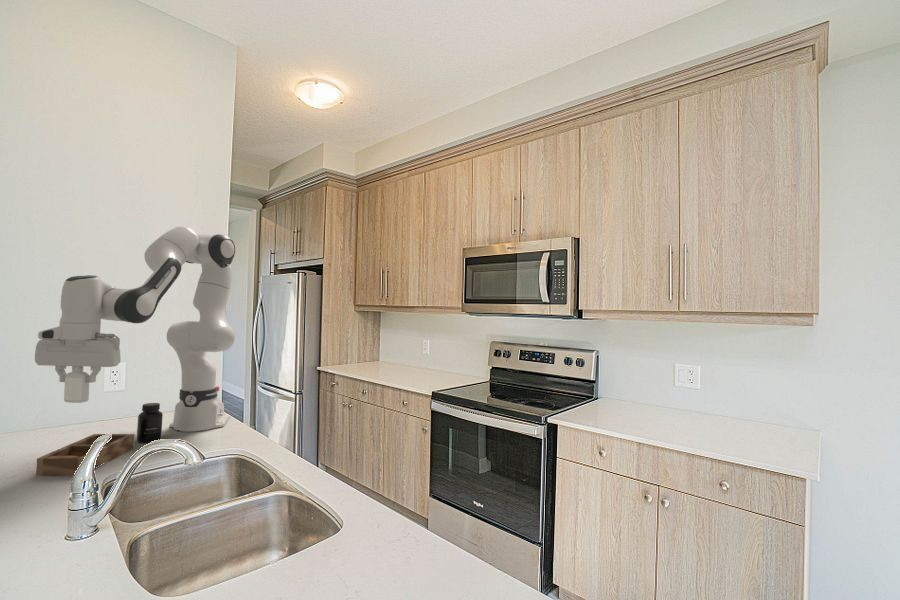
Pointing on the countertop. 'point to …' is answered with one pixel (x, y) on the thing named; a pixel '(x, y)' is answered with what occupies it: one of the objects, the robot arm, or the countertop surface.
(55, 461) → the wooden divided tray
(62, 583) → the countertop surface
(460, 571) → the countertop surface
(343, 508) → the countertop surface
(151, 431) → the supplement bottle
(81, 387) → the eye dropper bottle
